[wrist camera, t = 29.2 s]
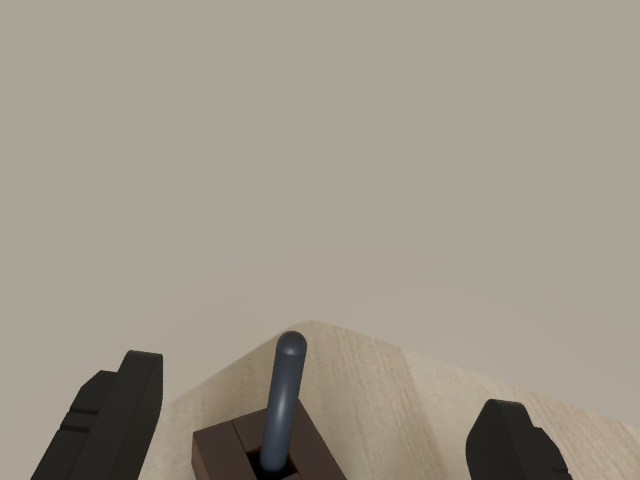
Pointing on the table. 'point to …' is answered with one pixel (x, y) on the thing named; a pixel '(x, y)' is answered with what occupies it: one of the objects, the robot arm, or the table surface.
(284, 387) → the dark grey peg
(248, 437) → the pen stand
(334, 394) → the table surface
